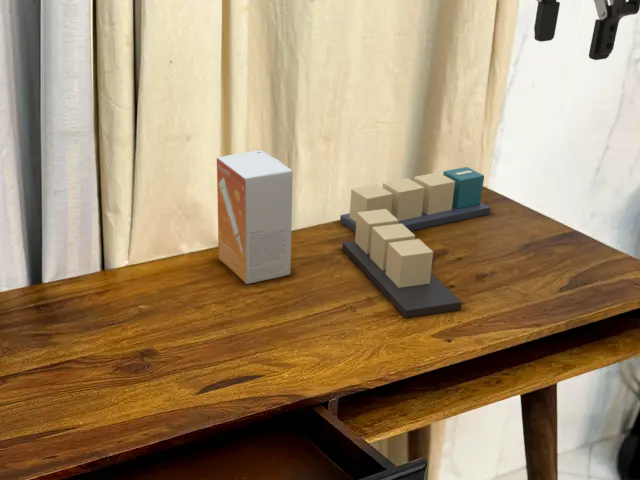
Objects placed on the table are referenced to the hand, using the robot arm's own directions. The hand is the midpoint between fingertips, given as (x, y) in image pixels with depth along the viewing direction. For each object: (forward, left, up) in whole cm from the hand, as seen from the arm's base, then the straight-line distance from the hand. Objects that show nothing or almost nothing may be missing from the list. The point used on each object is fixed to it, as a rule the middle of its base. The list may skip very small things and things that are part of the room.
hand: (570, 49), depth 104 cm
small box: (+31, -13, -26) cm, 43 cm away
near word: (+15, -5, -26) cm, 31 cm away
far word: (+5, -22, -26) cm, 34 cm away
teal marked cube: (-2, -23, -25) cm, 34 cm away
